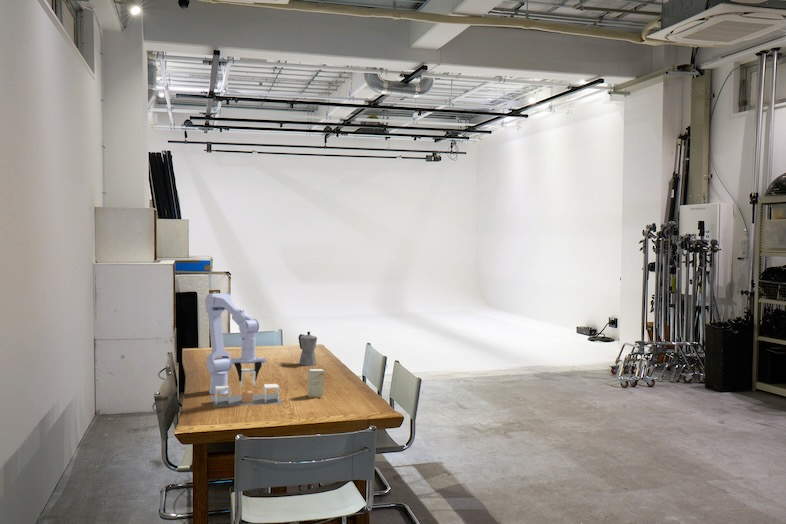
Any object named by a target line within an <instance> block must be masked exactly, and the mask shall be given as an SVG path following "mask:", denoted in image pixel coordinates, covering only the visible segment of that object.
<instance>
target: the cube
mask: <svg viewBox="0 0 786 524" xmlns="http://www.w3.org/2000/svg"><path fill="white" fill-rule="evenodd" d="M241 395H242V402H243V403H250V402H253V395H254V393H253V391H252V390H242V391H241Z"/></svg>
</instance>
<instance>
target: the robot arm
mask: <svg viewBox="0 0 786 524" xmlns="http://www.w3.org/2000/svg"><path fill="white" fill-rule="evenodd" d="M232 297H233V296H232V295H231V294H230V293H229V292H221V293H220V292H219V293H217V292H216V293H208V294H207V295H206V297H205V298H204V304H205V312H206V313H207V318H208V324H209V334H210V343H211V353H209V354H208V356H207V357H206V369H207V372H208V373H209V374H210V389H208V392H209V394H210V395H215V386H228V384H229V383H228V382H229V381H228V380H229V379H228V377H229V376H228V373H230V371H231V370H232V368H233V365H234V366H235V369H236V372H237V376H238V381H239V382H240V381H241V369H242V365H243V364H244V365H245V364H253V365H254V370H255V371H256V377H255V382H257V378H258V374H259V372H260V370H261V368H262V367H263V366H262V365H263V364H266V363H267V358H266V357H256V347H257V346H256V345H257V344H256V343H257V341H256V340H257V333H258V332H259V329H260V324H259V321H258V320H257V318H251V317H250V316H249V315H248V314H247V313H246V312H245V310H244V309H242V308H241V309H239V308H238V306H236V305H235V303H234V302H233V298H232ZM225 311H226V312H228V313H229V314H230V315H231V319H232V321H234V323H236V325H237V326H238V329H239V332H240V338H241V349H240V350H241V352H240V353H241V356H240V357H237V358H231V354H230V353H229V352H228V351H226V350H225V344H224V343H225V342H224V335H223V334H224V333H223V326H222V319H221V315H222V313H223V312H225ZM226 394H227V395H228V390H227V391H217V395H226Z"/></svg>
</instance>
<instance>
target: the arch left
mask: <svg viewBox="0 0 786 524" xmlns="http://www.w3.org/2000/svg"><path fill="white" fill-rule="evenodd" d="M227 390H228V394H227V396H228V402H229V404H230V396H231V387H230V385H227V386H215V394H214V396H215V403H216V405H217V396H218V394H217V391H227Z"/></svg>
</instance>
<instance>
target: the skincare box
mask: <svg viewBox="0 0 786 524" xmlns="http://www.w3.org/2000/svg"><path fill="white" fill-rule="evenodd" d="M324 377H325V369H322V368H308V374H307V396H308V398H317V397H322V396H323V397H324V387H325V386H324V383H325V380H324V379H325V378H324Z"/></svg>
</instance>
